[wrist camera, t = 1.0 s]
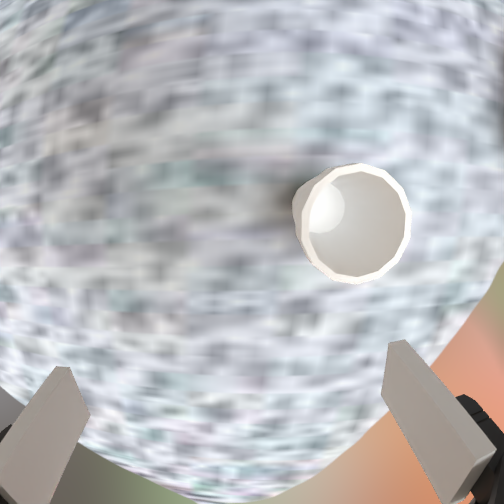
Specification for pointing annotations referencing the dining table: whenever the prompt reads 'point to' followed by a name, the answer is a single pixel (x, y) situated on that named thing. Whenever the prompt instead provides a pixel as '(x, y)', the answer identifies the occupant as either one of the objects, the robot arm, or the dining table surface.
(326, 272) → the foam cup
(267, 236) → the dining table surface
